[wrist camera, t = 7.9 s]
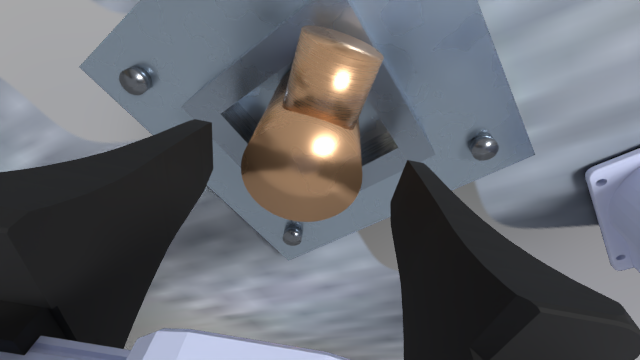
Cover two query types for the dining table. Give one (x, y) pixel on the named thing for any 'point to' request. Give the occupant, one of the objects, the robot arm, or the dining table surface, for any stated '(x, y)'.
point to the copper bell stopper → (313, 129)
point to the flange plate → (276, 61)
